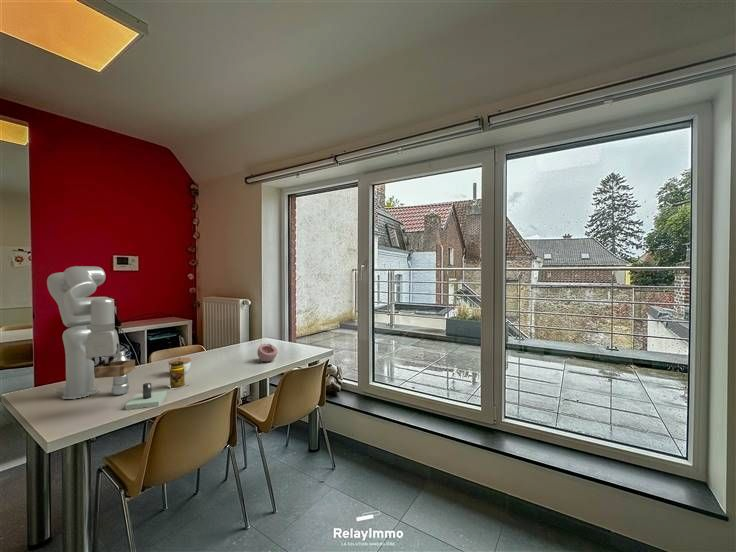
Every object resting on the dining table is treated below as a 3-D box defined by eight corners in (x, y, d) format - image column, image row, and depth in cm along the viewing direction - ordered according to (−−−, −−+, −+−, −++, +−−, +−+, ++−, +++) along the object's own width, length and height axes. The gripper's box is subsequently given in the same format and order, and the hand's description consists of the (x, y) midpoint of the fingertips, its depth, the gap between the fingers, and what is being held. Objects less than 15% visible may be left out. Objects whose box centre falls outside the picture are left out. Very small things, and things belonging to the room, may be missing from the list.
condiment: (174, 390, 152) (173, 365, 151) (164, 386, 156) (164, 362, 155) (189, 385, 158) (188, 361, 158) (179, 382, 162) (179, 359, 162)
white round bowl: (164, 375, 172) (164, 358, 172) (183, 369, 181) (183, 353, 181) (176, 378, 167) (176, 361, 167) (195, 372, 176) (195, 356, 176)
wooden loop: (94, 378, 125) (94, 368, 125) (107, 370, 135) (107, 361, 134) (124, 375, 128) (123, 366, 128) (135, 368, 137) (135, 359, 137)
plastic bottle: (127, 389, 151) (126, 348, 150) (131, 393, 147) (130, 350, 146) (109, 394, 146) (109, 351, 145) (113, 397, 142) (113, 353, 141)
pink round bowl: (266, 365, 191) (266, 346, 191) (253, 362, 197) (253, 343, 197) (281, 360, 201) (281, 342, 201) (268, 357, 208) (268, 340, 207)
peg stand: (125, 409, 130) (124, 390, 130) (136, 398, 141) (136, 380, 141) (158, 406, 134) (158, 387, 133) (167, 395, 145) (167, 378, 145)
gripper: (74, 330, 124) (75, 377, 124) (120, 328, 128) (121, 373, 128) (85, 327, 131) (86, 371, 132) (129, 325, 135) (129, 368, 136)
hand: (103, 372), depth 130 cm, fingers closed on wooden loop, 1 cm apart
